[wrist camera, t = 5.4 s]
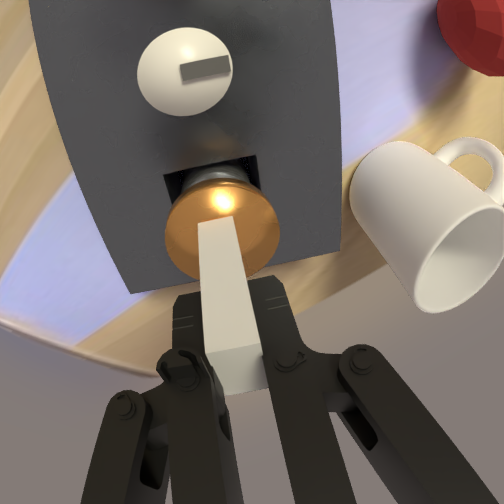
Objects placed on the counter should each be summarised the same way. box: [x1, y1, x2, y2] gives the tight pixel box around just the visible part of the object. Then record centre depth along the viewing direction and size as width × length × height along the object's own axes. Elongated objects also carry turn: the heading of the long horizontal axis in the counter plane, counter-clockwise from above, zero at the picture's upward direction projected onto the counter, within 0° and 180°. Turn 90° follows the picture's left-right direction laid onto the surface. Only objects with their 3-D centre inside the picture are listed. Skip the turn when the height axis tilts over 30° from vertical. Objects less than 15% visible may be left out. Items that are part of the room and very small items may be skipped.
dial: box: [137, 28, 233, 116], centre depth 10 cm, size 3×3×4 cm
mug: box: [349, 137, 504, 313], centre depth 19 cm, size 12×8×10 cm
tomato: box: [437, 0, 504, 76], centre depth 12 cm, size 8×8×8 cm
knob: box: [165, 158, 280, 280], centre depth 17 cm, size 5×5×7 cm
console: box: [29, 0, 342, 294], centre depth 14 cm, size 25×14×5 cm, turn 8°
